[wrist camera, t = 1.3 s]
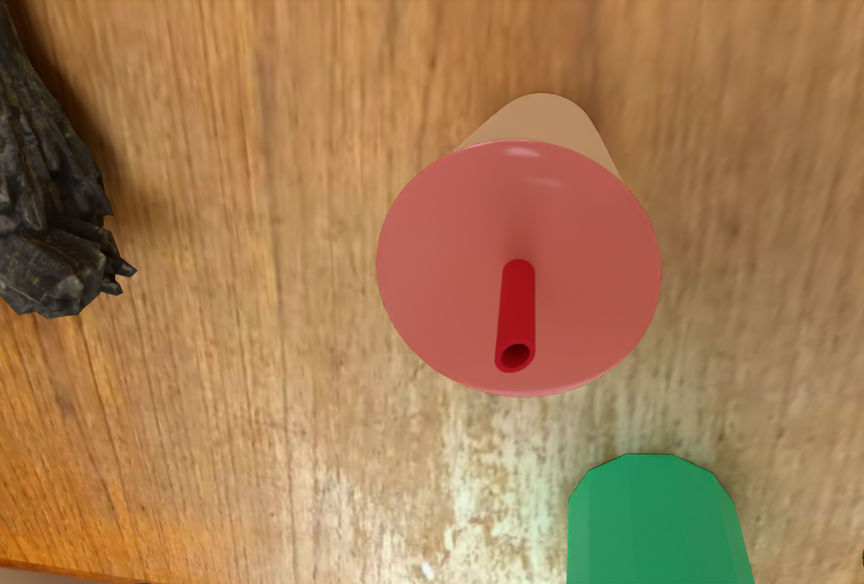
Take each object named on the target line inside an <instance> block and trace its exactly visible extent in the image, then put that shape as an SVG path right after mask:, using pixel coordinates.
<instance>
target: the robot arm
mask: <svg viewBox="0 0 864 584" xmlns="http://www.w3.org/2000/svg"><path fill="white" fill-rule="evenodd" d="M862 559H863V566H864V551H863V557H862ZM138 584H151V583H138Z"/></svg>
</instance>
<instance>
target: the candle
mask: <svg viewBox="0 0 864 584" xmlns="http://www.w3.org/2000/svg"><path fill="white" fill-rule="evenodd" d="M566 584H755V582H754V578H753V574H752V570H751V566H750V563H749V559H748V555H747V551H746V547H745V543H744V539H743V535H742V532H741V528H740V524H739V520H738V516H737V512H736V508H735V505H734V502H733V501H732V500H731V498H730V497H729V495H728V494H727V493H726V491H725V490H724V489H723V487H722V486H721V484H720V483H719V482H718V480H717V479H716V478H715V476H714V475H713V473H711V472H709V471H707V470H705V469H702V468H700V467H698V466H696V465H694V464H691V463H689V462H687V461H685V460H683V459H680V458H678V457H676V456H674V455H651V454H626V455H623V456H621V457H619V458H617V459H614V460H612V461H610V462H608V463H605V464H603V465H601V466H599V467H596V468H594V469H592V470H589V471H588V472H587V474H586V475H585V477H584V478H583V480H582V481H581V482H580V484H579V485H578V487H577V488H576V490H575V491H574V492H573V494H572V495H571V497H570V498H569V512H568V547H567V583H566Z"/></svg>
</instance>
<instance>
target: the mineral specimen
mask: <svg viewBox="0 0 864 584" xmlns="http://www.w3.org/2000/svg"><path fill="white" fill-rule="evenodd" d="M105 215H111V216H114V215H113V211H112V207H111V204H110V200H109V199H108V197H107V195H106V194H105V190H104V185H103V180H102V176H101V173H100V170H99V168H98V166H97V164H96V161H95V159H94V157H93V155H92V153H91V151H90V150H89V149H88V148H87V146H86V145H85V144H84V143H83V141H82V140H81V139H80V137H79V136H78V135H77V134H76V132H75V131H74V130H73V128H72V126H71V124H70V122H69V120H68V118H67V116H66V114H65V112H64V110H63V109H62V107H61V105H60V103H59V102H58V101H57V100H56V99H55V98H54V97H53V96H52V95H51V94H50V92H49V91H48V90H47V88H46V87H45V85H44V84H43V82H42V80H41V79H40V77H39V76H38V74H37V73H36V71H35V70H34V68H33V67H32V65H31V63H30V61H29V59H28V57H27V55H26V53H25V51H24V48H23V46H22V43H21V41H20V38H19V36H18V33H17V31H16V28H15V26H14V23H13V21H12V18H11V16H10V13H9V11H8V8H7V6H6V3H5V1H4V0H0V295H1V296H2V297H3V299H4V300H5V301H6V302H7V303H8V304H9V306H10V307H11V308H12V309H13V310H14V311H15V312H16V313H17V315H18V316H19V315H23V314H27V313H31V312H35V311H36V312H38V313H39V314H41V315H42V316H44V317H45V318H47V319H52V318H56V317H61V316H70V315H79V313H80V312H81V311H82V310H83V308H85V307H86V306H87V305H88V304H89V303H90V302H91V301H92V300H94V299H95V298H96V297H97V296H98V295H99V293H100V292H104V293H108V294H112V295H115V296H117V295H119V294H122V293H123V291H122V289H121V286H120V284H119V283H118V282H117V281H116V280H115V274H118V275H122V276H127V277H131V276H133V275H134V274H135V273H136V272H137V271H138V270H136V269H135V268H134V267H132V266H131V265H130V264H129V263H127V262H126V261H125V260H123V259H122V258H121V257H120V254H119V251H118V248H117V245H116V243H115V240H114V238H113V235H112V233H111V231H108V230H106V229H103V225H104V217H103V216H105Z"/></svg>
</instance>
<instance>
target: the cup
mask: <svg viewBox="0 0 864 584" xmlns="http://www.w3.org/2000/svg"><path fill="white" fill-rule="evenodd" d="M376 267H377V279H378V285H379V290H380V294H381V298H382V301H383V304H384V306H385V309H386V311H387V314H388V316H389V318H390V320H391V322H392V323H393V325H394V327H395V328H396V330H397V332H398V333H399V335H400V336H401V337H402V339H403V340H404V341H405V342H406V344H407V345H408V346H409V347H410V348H411V349H412V350H413V351H414V352H415V353H416V354H417V355H418V356H419V357H420V358H421V359H422V360H423V361H424V362H426V363H427V364H428V365H429V366H431V367H432V368H434V369H435V370H436V371H438V372H439V373H441V374H443V375H444V376H446V377H448V378H450V379H452V380H453V381H456V382H458V383H460V384H462V385H465V386H467V387H470V388H473V389H476V390H479V391H482V392H486V393H490V394H495V395H501V396H510V397H539V396H547V395H553V394H558V393H562V392H566V391H569V390H572V389H575V388H578V387H581V386H583V385H585V384H588V383H590V382H592V381H594V380H596V379H597V378H599V377H601V376H602V375H604V374H606V373H607V372H609V371H610V370H611V369H613V368H614V367H615V366H617V365H618V364H619V363H620V362H621V361H622V360H623V359H624V358H625V357H626V356H627V355H628V354H629V353H630V352H631V351H632V350H633V349H634V348H635V346H636V345H637V344H638V343H639V341H640V340H641V338H642V337H643V335H644V334H645V332H646V330H647V328H648V327H649V325H650V323H651V320H652V318H653V316H654V313H655V310H656V307H657V304H658V300H659V296H660V290H661V281H662V265H661V256H660V250H659V245H658V241H657V238H656V235H655V232H654V229H653V227H652V224H651V222H650V220H649V218H648V216H647V214H646V212H645V211H644V209H643V207H642V206H641V204H640V203H639V201H638V200H637V199H636V197H635V196H634V195H633V194H632V192H631V191H630V190H629V189H628V188H627V187H626V186H625V185H624V183H623V181H622V179H621V177H620V175H619V173H618V171H617V169H616V167H615V165H614V163H613V161H612V159H611V157H610V155H609V153H608V151H607V149H606V147H605V145H604V143H603V141H602V139H601V137H600V135H599V133H598V132H597V130H596V128H595V127H594V125H593V123H592V121H591V120H590V118H589V117H588V115H587V114H586V113H585V112H584V111H583V110H582V109H581V108H580V107H579V106H578V105H577V104H575V103H574V102H572V101H570V100H568V99H566V98H564V97H561V96H558V95H554V94H548V93H535V94H529V95H525V96H522V97H519V98H517V99H515V100H513V101H511V102H510V103H508V104H507V105H505V106H504V107H503V108H502V109H501V110H499V111H498V112H497V113H495V114H494V115H493V116H492V117H491V118H489V119H488V120H487V121H486V122H485V123H484V124H483V125H481V126H480V127H479V128H478V129H477V130H476V131H475V132H474V133H472V134H471V135H470V136H469V137H468V138H467V139H466V140H465V141H463V142H462V143H461V144H460V145H459V146H458V147H457V148H456V149H455V150H453V151H452V152H451V153H449V154H447V155H445V156H443V157H441V158H439V159H438V160H436V161H435V162H433V163H431V164H430V165H429V166H427V167H426V168H424V169H423V170H422V171H421V172H420V173H418V174H417V175H416V176H415V177H414V178H413V179H412V180H411V181H410V182H409V183H408V184H407V185H406V186H405V188H404V189H403V190H402V191H401V193H400V194H399V195H398V197H397V198H396V200H395V201H394V203H393V205H392V206H391V208H390V210H389V212H388V214H387V216H386V219H385V221H384V224H383V226H382V230H381V233H380V237H379V242H378V248H377V260H376Z"/></svg>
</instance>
